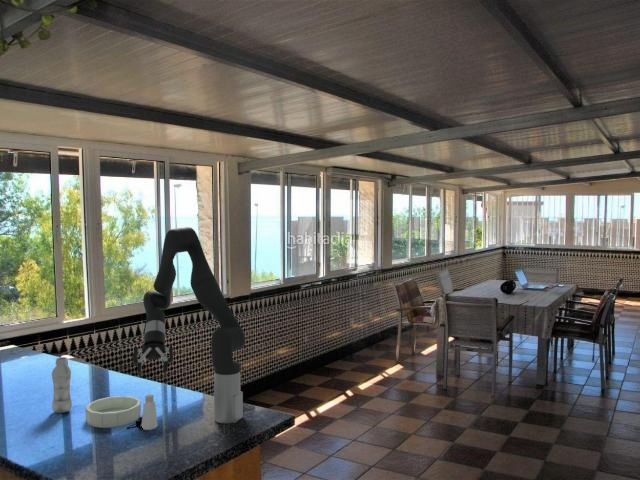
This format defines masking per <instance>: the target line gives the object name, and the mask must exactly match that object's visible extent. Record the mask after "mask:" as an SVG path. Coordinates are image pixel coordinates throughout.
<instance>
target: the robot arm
mask: <svg viewBox="0 0 640 480" xmlns="http://www.w3.org/2000/svg"><path fill="white" fill-rule="evenodd" d="M162 246H163V247H162V252H161V258H160V265H159V268H158V272H157V274H156V278H155V280H154V282H153V289H154V290H148V291H146V292H145V294H144V295H143V299H142V302H143V307H144V309H145V314H146V321H145V328H144V338H143V347H142V348H139V347H137V346H136V347H134V351H133V355H132V364H133V365H134V366H135V365H136V366H137V367H136V372H137V374H138V375H142V369H143V364H144V363H146V362H147V361H148V360H158V359H159V360H160V361H161V362H163V374H166V373H167V372H168V367H169V366H168V365H169V364H172V363H174V350H173V349H174V347H173V345H170V346H169V347H165V341H166V340H165V339H166V314H165V312H164V311H165V310H168V309H169V308H170V305H171V295H172V294H171V292H172V288H173V285H174V283H175V281H176V276H177V271H176V267H175V264H174V258H175V257H176V256H177V254H179V253H185V252H187V254H188V255H189V257H190V261H191V265H192V266H191V273H190V287H191V290H192V292H193V294H194V296H195V298H196V300H197V301H198V303H199V304H200V305H201V306H202V307H203V308H204V309H205V310H206V311H208V312H209V313H210V314H211V315H212V316H213V318H215V320H216V321H217V322H218V324H219V327H220V328H217V329H215V330H214V331H213V333H212V335H211V339H210V340H211V342H210V343H211V344H210V345H211V346H210V347H211V348H210V349H211V362H212V366H213V368H214V369H213V371H214V372H213V373H214V374H213V376H214V377H213V379H214V380H213V382H214V385H213V386H214V391H213V392H214V397H213V398H214V401H213V403H214V409H213V410H214V414H213V415H214V422H216V423H219V424H236V423H237V422H239V420H241V419H242V418H243V416H244V415H243V414H244V413H243V412H244V411H243V409H244V407H243V406H244V405H243V403H244V402H243V401H244V398H243V397H244V395H243V394H244V392H243V391H241V370H242V368H241V363H240V362H239V361H237V360H234V359H233V353H234V352H236V351H240V350H242V349H243V348H244V346H245V343H246V336H245V332H244V330H243V329H242V326H241V325H240V323H239V322H238V319H236V316H235V315H234V313H233V312H232V310H231V308H230V306H229V304H228V302H227V300H226V298H225V296H224V295H223V292H222V290H221V288H220V286H219V282H218V281H217V279H216V277H215V275H214V273H213V271H212V269H211V267H210V265H209V262H208V260H207V257H206V256H205V252H204V250H203V248H202V243H201V241H200V239H199V235H198V233H197V232H196V231H195V229H194V228H193V227H190V226H189V227H188V226H185V227H183V226H182V227H175V228H171V229H169V230H167V232H166V234H165V236H164V241H163V245H162ZM141 353H142V355H141V357H140V358H139V359H138V357H139V355H140V354H141ZM165 353H167V354H169V355H168V356H169V357H168V358H167V357H166V355H165Z"/></svg>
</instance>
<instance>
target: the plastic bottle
mask: <svg viewBox="0 0 640 480" xmlns="http://www.w3.org/2000/svg"><path fill="white" fill-rule="evenodd" d="M71 374H72V371H71V368H70V367H69V366H68V357H56V359H55V367H54V368H53V369H52V371H51V380H52V386H53V395H52V396H53V397H52V398H53V399H52V404H51V408H52V411H53V412H54V413H55V414H63V413H68V412H69V411H71V410H72V407H73V406H72V405H73V402H72V398H71V376H72V375H71Z"/></svg>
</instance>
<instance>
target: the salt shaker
mask: <svg viewBox="0 0 640 480" xmlns="http://www.w3.org/2000/svg"><path fill="white" fill-rule="evenodd" d="M154 397H155V395H154V394H150V393H149V394H146V395H145V396H144V398H145V401H144V403H143V407H142V408H143V409H142V415H141V416H142V417H141V426H142V428H143V430H145V431H151V430H155V429H157V427H158V426H159V425H158V424H159V423H158V416H157V408H156V407H157V406H156V402H155V401H154ZM142 428H141V429H142Z"/></svg>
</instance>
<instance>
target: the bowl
mask: <svg viewBox="0 0 640 480" xmlns="http://www.w3.org/2000/svg"><path fill="white" fill-rule="evenodd" d="M141 413H142V401H141V399H139V398H137V397H135V396H128V395H118V396H117V395H116V396H108V397H103V398H99V399H96V400H93V401H91V402H90V403H88V404H87V405H86V407H85V421H86V424H87V425H88V426H89V427H94V428H99V429H107V428H108V429H110V428H111V429H112V428H118V427H122V426H127V425H130V424H132V423H134V422H137V421H138V420H139V419H140V418H141ZM139 417H140V418H139ZM138 418H139V419H138Z"/></svg>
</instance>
